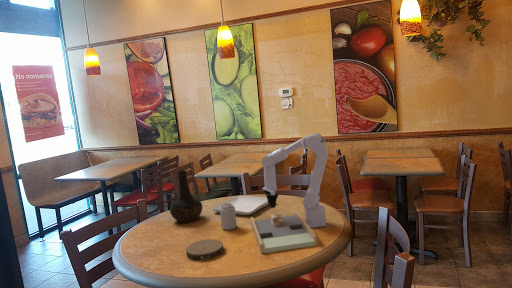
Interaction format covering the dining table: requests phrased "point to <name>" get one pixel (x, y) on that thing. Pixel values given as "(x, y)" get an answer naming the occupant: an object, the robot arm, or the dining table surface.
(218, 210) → the square plate
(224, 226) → the can
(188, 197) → the glass bottle
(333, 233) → the dining table surface
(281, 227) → the box
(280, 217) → the maple block
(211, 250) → the grey brown round disc
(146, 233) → the dining table surface
